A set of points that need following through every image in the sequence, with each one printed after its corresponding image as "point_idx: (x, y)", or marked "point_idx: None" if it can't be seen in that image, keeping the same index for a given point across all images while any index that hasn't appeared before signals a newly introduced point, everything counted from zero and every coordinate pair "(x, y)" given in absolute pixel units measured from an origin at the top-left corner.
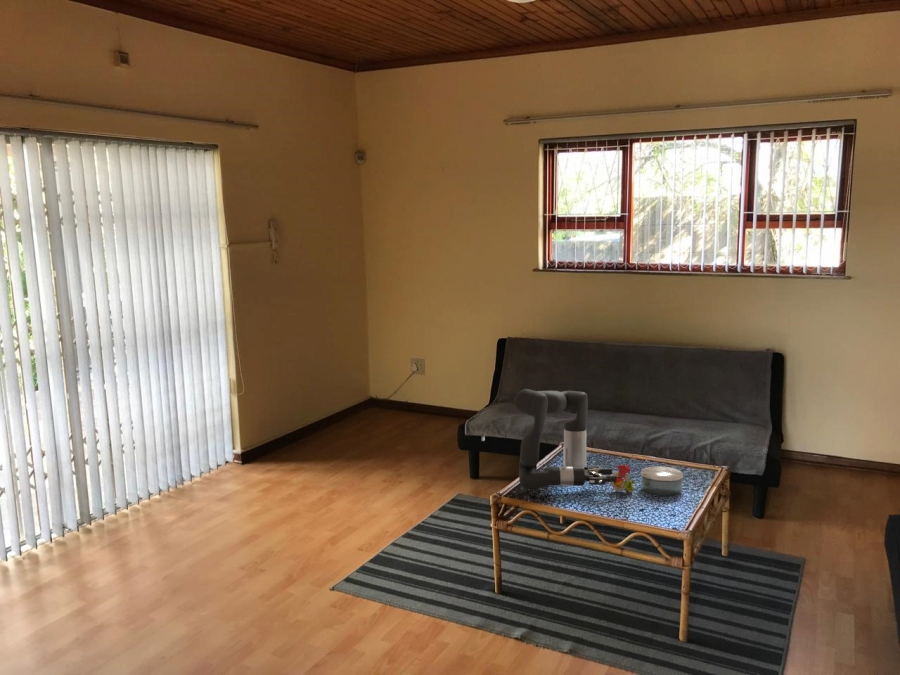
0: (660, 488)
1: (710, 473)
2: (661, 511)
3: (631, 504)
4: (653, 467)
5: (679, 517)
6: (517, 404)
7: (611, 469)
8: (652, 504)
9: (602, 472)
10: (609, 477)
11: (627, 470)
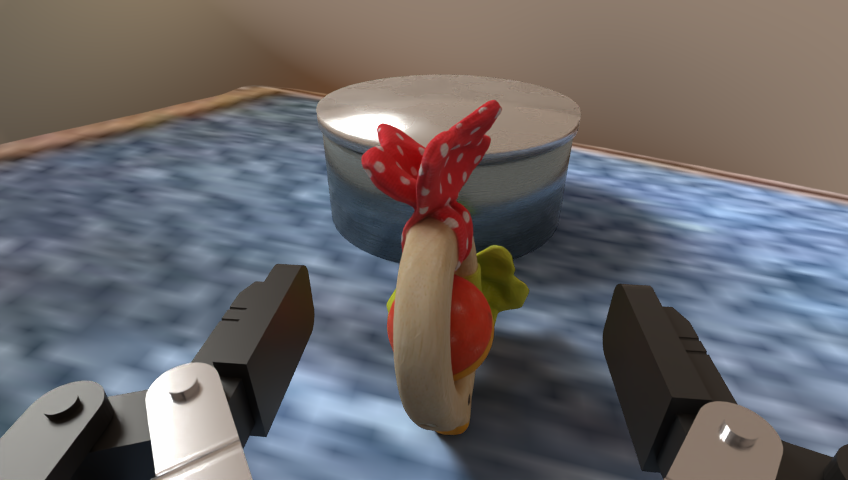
0: (565, 179)
1: (298, 101)
2: (843, 271)
3: (803, 396)
4: (336, 106)
5: None
6: None
7: (303, 267)
8: (723, 280)
9: (260, 408)
10: (683, 368)
11: (469, 163)
